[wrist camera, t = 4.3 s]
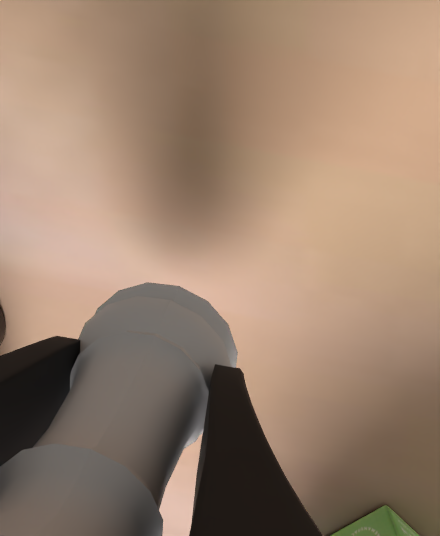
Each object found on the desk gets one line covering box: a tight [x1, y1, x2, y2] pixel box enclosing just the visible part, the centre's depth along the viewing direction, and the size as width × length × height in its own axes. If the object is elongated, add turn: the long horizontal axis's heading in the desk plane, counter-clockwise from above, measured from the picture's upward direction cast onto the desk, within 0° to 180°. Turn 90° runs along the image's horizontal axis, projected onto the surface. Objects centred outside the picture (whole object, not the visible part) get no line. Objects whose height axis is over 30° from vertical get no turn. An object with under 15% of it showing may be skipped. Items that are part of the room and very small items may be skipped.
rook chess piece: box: [0, 283, 238, 536], centre depth 7 cm, size 4×4×8 cm
